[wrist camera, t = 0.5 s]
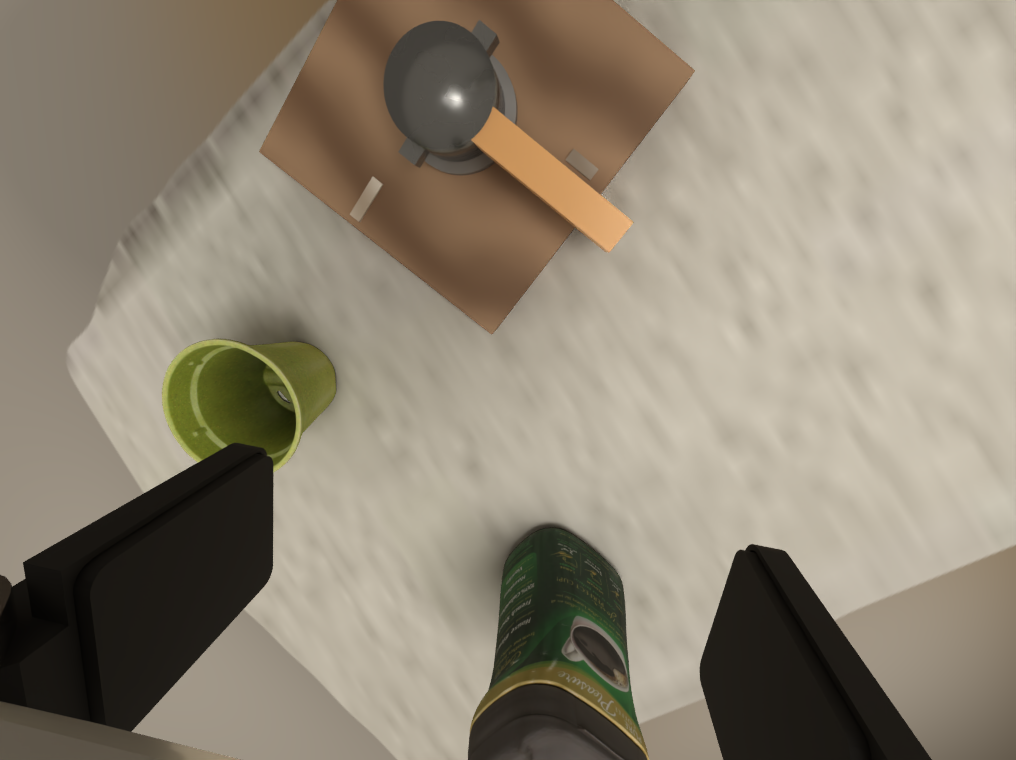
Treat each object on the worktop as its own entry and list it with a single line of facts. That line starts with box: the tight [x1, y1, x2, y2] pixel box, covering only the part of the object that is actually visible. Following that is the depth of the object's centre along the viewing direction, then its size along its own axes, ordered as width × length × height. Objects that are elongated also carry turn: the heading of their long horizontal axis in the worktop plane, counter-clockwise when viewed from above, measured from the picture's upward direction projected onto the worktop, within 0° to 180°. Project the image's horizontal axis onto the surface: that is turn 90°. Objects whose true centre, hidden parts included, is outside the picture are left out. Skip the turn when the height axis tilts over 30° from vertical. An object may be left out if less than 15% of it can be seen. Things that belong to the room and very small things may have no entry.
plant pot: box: [162, 339, 336, 472], centre depth 35 cm, size 9×9×9 cm
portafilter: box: [383, 20, 634, 252], centre depth 27 cm, size 8×16×4 cm, turn 53°
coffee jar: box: [468, 528, 649, 760], centre depth 32 cm, size 10×8×19 cm
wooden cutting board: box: [259, 0, 695, 334], centre depth 31 cm, size 20×20×3 cm
